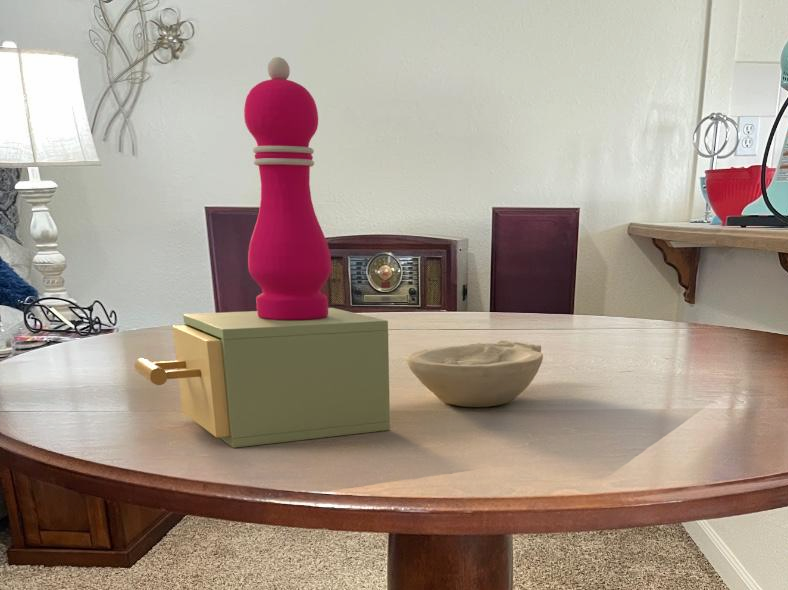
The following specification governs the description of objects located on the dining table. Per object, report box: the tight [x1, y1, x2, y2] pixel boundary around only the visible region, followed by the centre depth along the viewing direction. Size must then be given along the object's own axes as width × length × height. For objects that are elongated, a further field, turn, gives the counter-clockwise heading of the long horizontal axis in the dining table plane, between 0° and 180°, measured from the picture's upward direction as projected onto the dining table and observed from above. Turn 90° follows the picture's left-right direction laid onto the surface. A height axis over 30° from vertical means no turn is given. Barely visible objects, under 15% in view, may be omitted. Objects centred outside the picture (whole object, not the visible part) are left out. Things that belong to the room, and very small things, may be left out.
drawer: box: [134, 324, 230, 438], centre depth 79 cm, size 18×11×8 cm, turn 119°
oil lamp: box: [405, 340, 544, 408], centre depth 96 cm, size 21×14×5 cm
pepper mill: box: [243, 56, 333, 320], centre depth 75 cm, size 7×7×20 cm
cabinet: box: [182, 307, 391, 449], centre depth 81 cm, size 15×13×10 cm
